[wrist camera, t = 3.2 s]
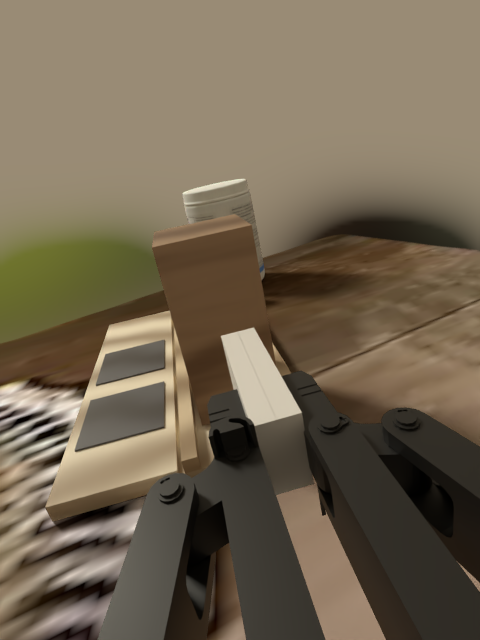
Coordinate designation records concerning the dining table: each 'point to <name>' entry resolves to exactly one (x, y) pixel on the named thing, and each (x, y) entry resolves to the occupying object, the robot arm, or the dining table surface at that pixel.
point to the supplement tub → (223, 206)
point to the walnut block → (211, 296)
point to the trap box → (133, 421)
